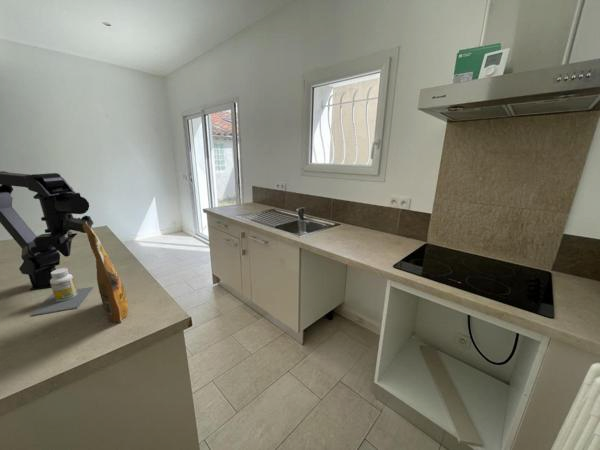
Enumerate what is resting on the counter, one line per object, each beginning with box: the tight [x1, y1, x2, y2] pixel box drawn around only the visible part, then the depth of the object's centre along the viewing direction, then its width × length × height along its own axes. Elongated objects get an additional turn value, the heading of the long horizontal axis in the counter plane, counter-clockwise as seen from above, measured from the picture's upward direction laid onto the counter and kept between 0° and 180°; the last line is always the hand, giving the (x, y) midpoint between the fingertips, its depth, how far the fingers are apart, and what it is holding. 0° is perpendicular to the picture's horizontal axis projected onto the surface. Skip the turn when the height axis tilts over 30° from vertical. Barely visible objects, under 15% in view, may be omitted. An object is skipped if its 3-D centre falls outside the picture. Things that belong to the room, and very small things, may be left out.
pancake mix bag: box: [83, 222, 129, 323], centre depth 72 cm, size 7×19×28 cm, turn 38°
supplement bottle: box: [50, 267, 77, 301], centre depth 80 cm, size 5×5×10 cm
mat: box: [30, 286, 94, 317], centre depth 80 cm, size 11×13×1 cm
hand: (67, 256), depth 84 cm, fingers closed
